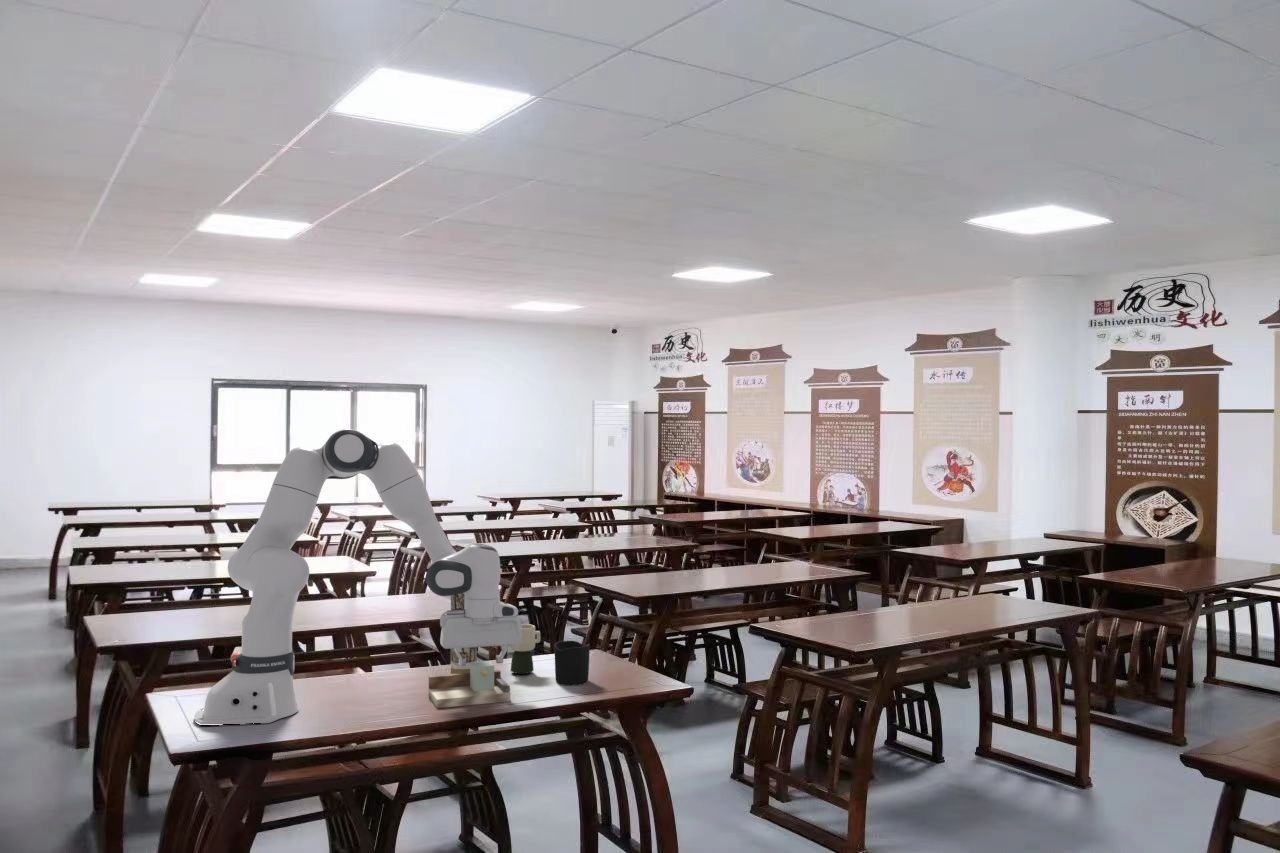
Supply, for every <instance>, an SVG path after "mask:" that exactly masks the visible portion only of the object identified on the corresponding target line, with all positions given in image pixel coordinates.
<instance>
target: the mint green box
mask: <svg viewBox="0 0 1280 853" xmlns="http://www.w3.org/2000/svg"><path fill="white" fill-rule="evenodd" d="M494 670H495V664H494V663H493V662H492V661H491V660H488V661H477V662H472V663H470V687H471V688H472V689H473V690H474V691H482V690H493V689H494Z"/></svg>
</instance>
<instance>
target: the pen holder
mask: <svg viewBox="0 0 1280 853" xmlns="http://www.w3.org/2000/svg"><path fill="white" fill-rule="evenodd" d="M590 647H591V645H590V643H587V644H582V643H581V642H578V641H576V640H563V641H562V640H561V641H558V642H557V641H556V642H555V643H554V649H553V650H554V672H555V682H556V683H557V684H558V683H559V684H558V685H561V684H563V685H562V686H581V685H585V684H587V683H588V681H589V675H590V674H589V672H590V671H589V670H590V650H591V648H590ZM586 682H587V683H586ZM584 683H585V684H584ZM580 684H581V685H580Z"/></svg>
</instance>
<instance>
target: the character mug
mask: <svg viewBox="0 0 1280 853" xmlns="http://www.w3.org/2000/svg"><path fill="white" fill-rule="evenodd" d="M521 629H522V641H521V642H520V644H518V645H508V648H510V650H511V651H513V653H512V655H511V657H512V658H511V664H510V672H511V673H512V672H513V673H515V674H516V675H518V674H531V673H532V672H533V671H534V669H535V668H534V661H533V654H532V652H531V651H533V650H534V649H535V648H536V644H538V643H541V632H540V630H536V626H535V625H533V624H530V623H529V624H528V623H521Z"/></svg>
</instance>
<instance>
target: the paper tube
mask: <svg viewBox="0 0 1280 853" xmlns="http://www.w3.org/2000/svg"><path fill="white" fill-rule="evenodd" d="M450 610H452V611H454V610H464V593H461V594H456V595H452V596H450ZM452 615H454V614H452ZM477 648H478V647H467V648H462V651H461V652H459V653H460V655H461V657H462V658H463V657H465V658H466V662H465V663H466V666H459V658H458V656H457V655H456V653H455V651H454V648H450V674H458V673H470V663H472V662H478V661H477V655H478V654H477V652H478V651H477Z"/></svg>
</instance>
